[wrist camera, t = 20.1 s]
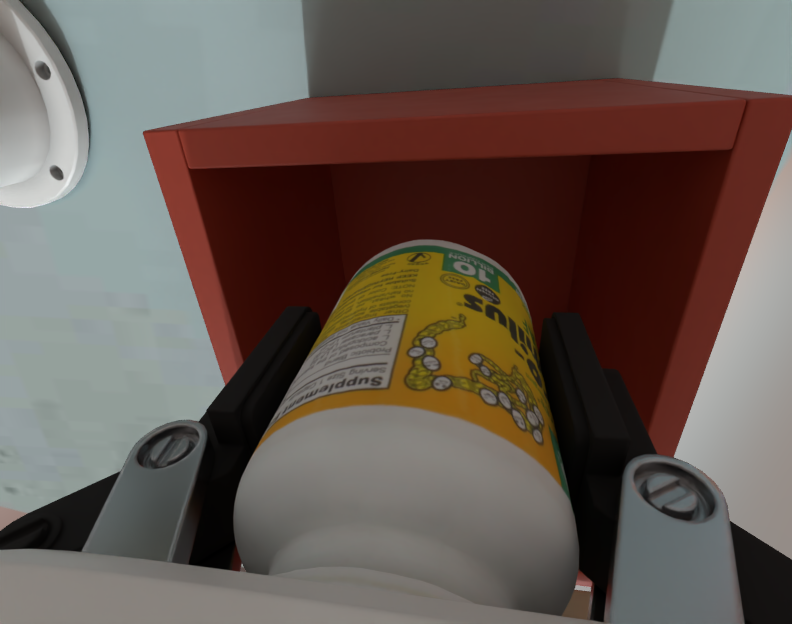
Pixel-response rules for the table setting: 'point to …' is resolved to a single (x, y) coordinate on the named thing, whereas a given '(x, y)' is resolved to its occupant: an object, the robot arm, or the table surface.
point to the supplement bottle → (417, 445)
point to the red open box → (489, 210)
